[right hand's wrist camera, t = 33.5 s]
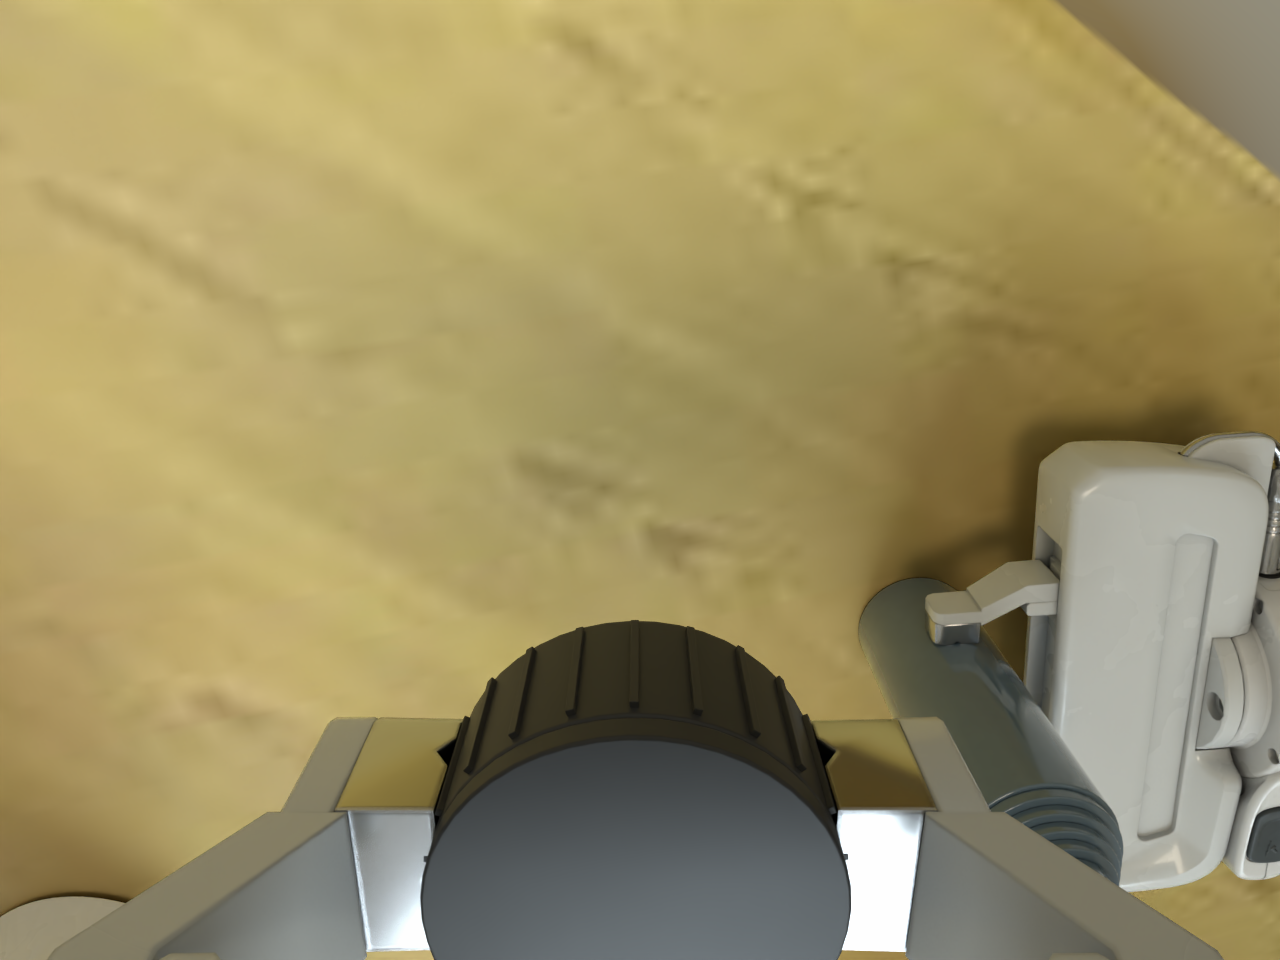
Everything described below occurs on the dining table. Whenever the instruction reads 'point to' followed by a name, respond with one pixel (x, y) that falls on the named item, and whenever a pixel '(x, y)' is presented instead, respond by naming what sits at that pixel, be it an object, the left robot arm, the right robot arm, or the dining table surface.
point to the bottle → (988, 725)
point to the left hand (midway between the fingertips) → (926, 690)
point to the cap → (636, 810)
